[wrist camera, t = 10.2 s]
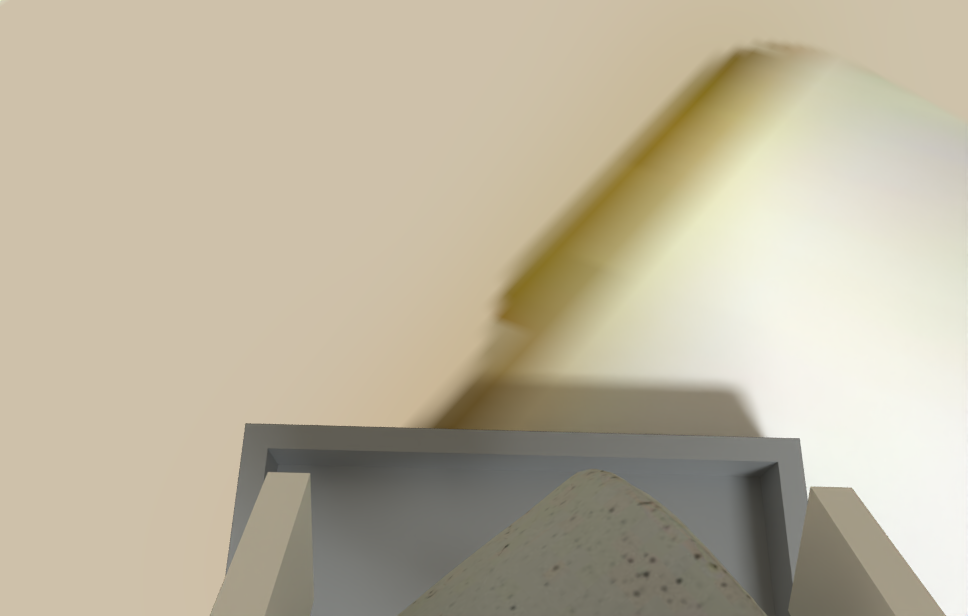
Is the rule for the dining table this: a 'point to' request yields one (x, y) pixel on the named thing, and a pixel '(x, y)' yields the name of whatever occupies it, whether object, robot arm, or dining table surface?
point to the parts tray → (513, 500)
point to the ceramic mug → (590, 562)
